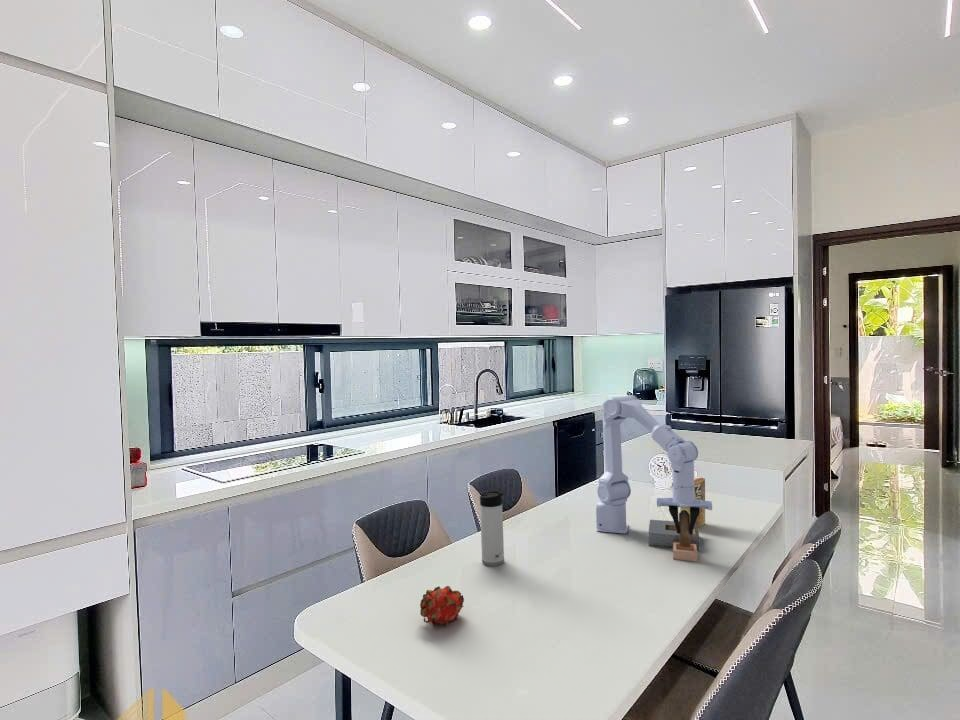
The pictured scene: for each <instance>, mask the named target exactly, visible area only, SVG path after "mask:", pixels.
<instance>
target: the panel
mask: <svg viewBox="0 0 960 720" xmlns="http://www.w3.org/2000/svg"><path fill="white" fill-rule="evenodd" d="M673 542H676V543H680V537H679V534H678V533H677V530H676V526H675V523H674V520H663V519H662V520H660V519H649V526H648V547H656V548H657V547H658V548H668V549H673ZM690 544H696V546H697V552H698V551H699V552H700V551H701V550H700V532H699V527H698V523H695V525H694V528H693V535H690Z"/></svg>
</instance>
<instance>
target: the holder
mask: <svg viewBox="0 0 960 720" xmlns="http://www.w3.org/2000/svg"><path fill="white" fill-rule="evenodd" d="M672 555H673V557H672V558H673V560H677V561H688V562H697V563H698V551H697V546H696V544H690V547H682V546H680V543H676V542H673V548H672Z"/></svg>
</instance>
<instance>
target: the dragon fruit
mask: <svg viewBox="0 0 960 720" xmlns="http://www.w3.org/2000/svg"><path fill="white" fill-rule="evenodd" d="M464 598H465V597H464V595H463V594H462V593H461V592H460V591H459V590H452V587H450V585H446V586H445V587H443V588H441V587H440V585H439V586H437V587H434V589H433V590H432V589H427V590H426V591H425V594H422V598H421V600H420V603H419V607H420V608H419V609H420V611H419V614H420V616H421V617H423V622H424V623H426V624H432V625H433V626H436V625H438V624H441V625H442V626H445V627H448V626H449V624H450V621H456V620H457V618H458V617H459V613H460V612H461V610H462V608H463V607H464V605H463V604H464V603H465V599H464ZM426 619H427V620H426Z"/></svg>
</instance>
